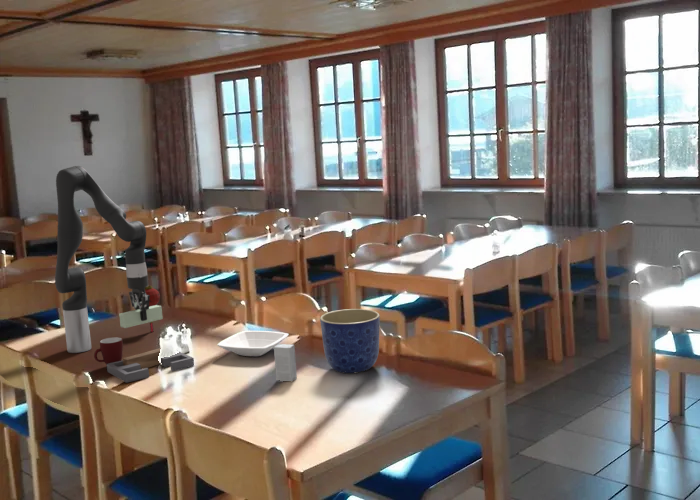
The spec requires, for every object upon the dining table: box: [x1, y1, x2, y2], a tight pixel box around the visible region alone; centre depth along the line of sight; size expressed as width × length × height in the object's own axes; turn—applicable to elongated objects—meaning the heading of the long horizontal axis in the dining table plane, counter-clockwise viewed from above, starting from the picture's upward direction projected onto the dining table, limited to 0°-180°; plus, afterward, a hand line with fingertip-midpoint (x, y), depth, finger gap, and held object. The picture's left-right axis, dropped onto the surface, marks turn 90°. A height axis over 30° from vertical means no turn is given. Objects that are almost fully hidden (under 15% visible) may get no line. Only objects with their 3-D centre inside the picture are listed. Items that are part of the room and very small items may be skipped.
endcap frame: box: [106, 351, 195, 384], centre depth 299 cm, size 18×26×3 cm
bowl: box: [216, 330, 289, 357], centre depth 311 cm, size 22×23×6 cm
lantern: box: [145, 285, 161, 333], centre depth 350 cm, size 10×10×30 cm
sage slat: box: [118, 304, 164, 329], centre depth 309 cm, size 4×16×5 cm, turn 136°
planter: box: [319, 308, 381, 374], centre depth 285 cm, size 21×21×19 cm
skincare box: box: [273, 343, 298, 382], centre depth 277 cm, size 6×4×12 cm
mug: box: [93, 336, 124, 366], centre depth 303 cm, size 11×8×10 cm
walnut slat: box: [122, 347, 162, 369], centre depth 302 cm, size 4×16×5 cm, turn 134°
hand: (141, 319), depth 309 cm, fingers closed on sage slat, 4 cm apart
